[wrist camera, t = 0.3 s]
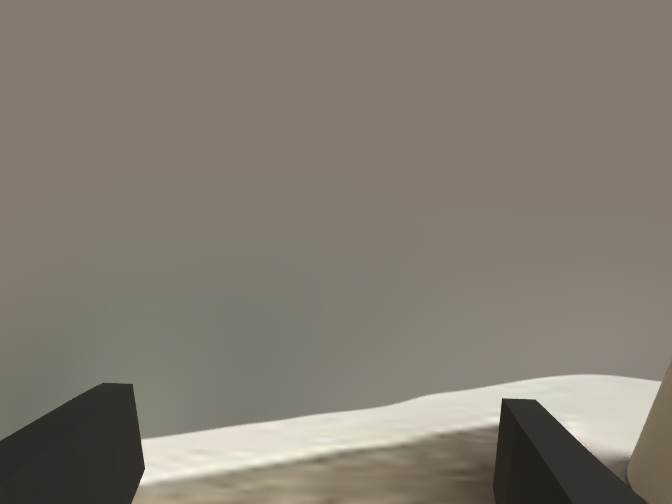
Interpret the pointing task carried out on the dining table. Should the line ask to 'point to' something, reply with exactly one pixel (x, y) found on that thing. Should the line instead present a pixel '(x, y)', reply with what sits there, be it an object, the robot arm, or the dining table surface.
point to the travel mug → (655, 450)
